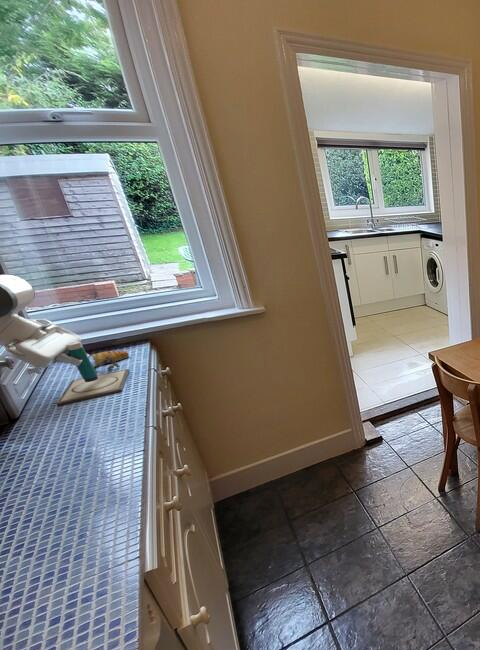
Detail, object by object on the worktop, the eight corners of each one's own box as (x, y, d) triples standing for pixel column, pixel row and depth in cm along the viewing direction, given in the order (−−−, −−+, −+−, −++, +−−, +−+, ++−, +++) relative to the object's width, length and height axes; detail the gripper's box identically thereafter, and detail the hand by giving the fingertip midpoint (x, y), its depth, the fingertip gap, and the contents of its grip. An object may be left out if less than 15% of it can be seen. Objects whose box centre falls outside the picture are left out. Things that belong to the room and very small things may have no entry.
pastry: (128, 354, 153) (123, 345, 152) (131, 359, 149) (126, 349, 148) (94, 362, 147) (89, 352, 146) (96, 367, 143) (91, 357, 141)
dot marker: (81, 382, 124) (62, 345, 119) (93, 377, 127) (74, 341, 122) (90, 382, 124) (71, 345, 119) (101, 377, 127) (83, 341, 122)
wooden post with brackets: (120, 366, 140) (108, 355, 138) (98, 378, 140) (86, 368, 138) (123, 364, 142) (111, 354, 140) (102, 376, 141) (90, 366, 139)
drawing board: (57, 406, 117) (56, 403, 116) (73, 382, 132) (71, 379, 131) (121, 391, 124) (120, 388, 123) (129, 370, 139) (128, 368, 138)
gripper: (7, 338, 107) (74, 364, 114) (48, 317, 124) (104, 342, 131) (-7, 357, 107) (61, 382, 114) (36, 334, 124) (93, 357, 131)
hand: (84, 360), depth 123 cm, fingers closed on dot marker, 3 cm apart
